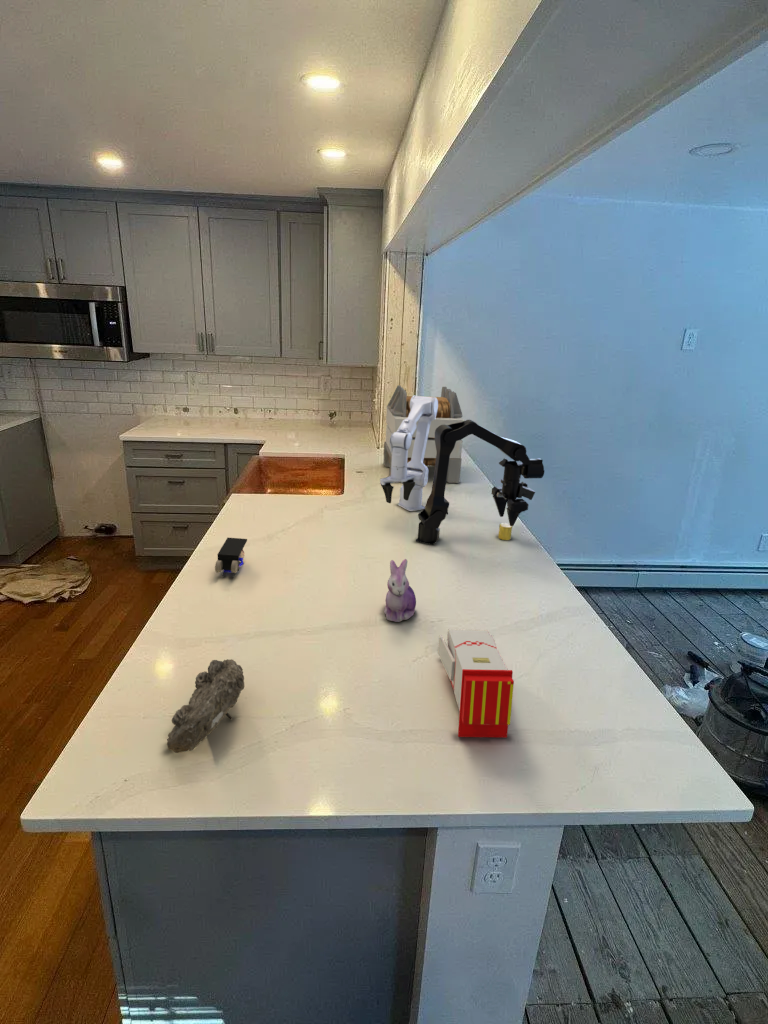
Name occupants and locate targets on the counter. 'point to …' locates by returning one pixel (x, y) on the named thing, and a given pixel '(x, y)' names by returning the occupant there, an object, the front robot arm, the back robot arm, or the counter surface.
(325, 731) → the counter surface
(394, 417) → the transformer
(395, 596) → the figurine
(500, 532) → the cylinder
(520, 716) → the counter surface
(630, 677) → the counter surface
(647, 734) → the counter surface
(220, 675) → the fossil
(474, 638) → the toy
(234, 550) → the black wheeled block
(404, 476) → the back robot arm
